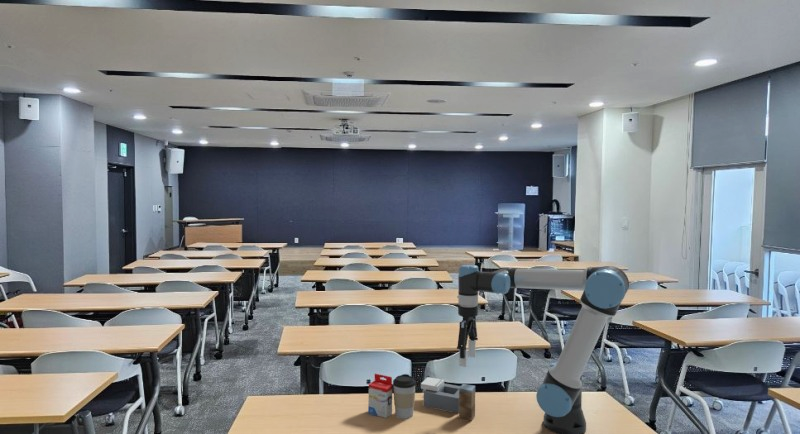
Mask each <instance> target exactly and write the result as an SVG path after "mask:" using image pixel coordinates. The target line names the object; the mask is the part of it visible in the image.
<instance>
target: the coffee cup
mask: <svg viewBox="0 0 800 434" xmlns="http://www.w3.org/2000/svg"><path fill="white" fill-rule="evenodd" d="M392 385H393V386H392V387H393V388H392V392H393V404H394V412H395V413H394V414H395V417H396V418H397V419H401V420H408V419H411V418H413V416H414V406H415V399H416V385H417V381H416V379H415V378H414V377H413V376H410V375H409V374H407V373H404V374H401V375H397V376H396V377H395V378H394V379H392Z"/></svg>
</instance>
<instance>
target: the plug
mask: <svg viewBox="0 0 800 434" xmlns="http://www.w3.org/2000/svg"><path fill="white" fill-rule="evenodd" d="M460 386H461V387H460V388H459V413H458V419H459V420H461V421H466V422H473V420H474V419H475V417H476V385H472V384H466V383H462V384H461V385H460Z"/></svg>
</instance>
